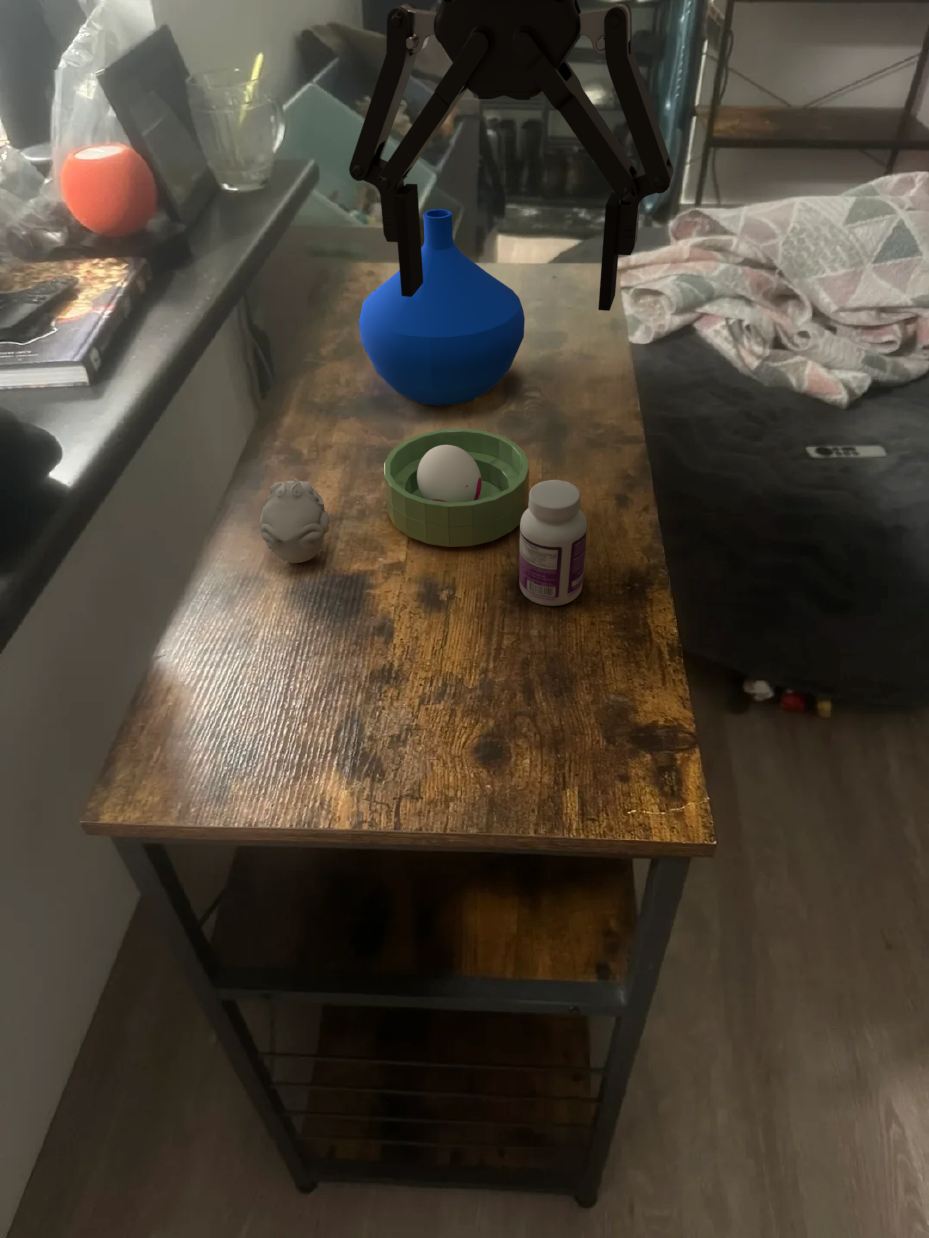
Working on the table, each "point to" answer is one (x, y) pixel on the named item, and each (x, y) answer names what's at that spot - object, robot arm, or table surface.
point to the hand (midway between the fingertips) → (507, 296)
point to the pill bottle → (552, 544)
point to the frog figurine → (294, 521)
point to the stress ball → (448, 475)
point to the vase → (443, 325)
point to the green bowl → (459, 520)
